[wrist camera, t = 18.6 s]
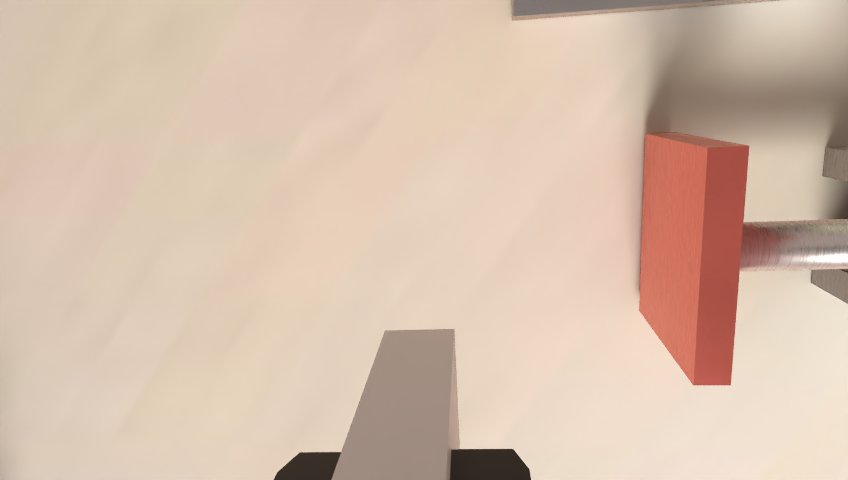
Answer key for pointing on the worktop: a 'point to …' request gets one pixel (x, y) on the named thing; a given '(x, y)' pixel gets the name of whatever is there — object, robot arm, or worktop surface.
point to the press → (548, 3)
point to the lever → (712, 248)
